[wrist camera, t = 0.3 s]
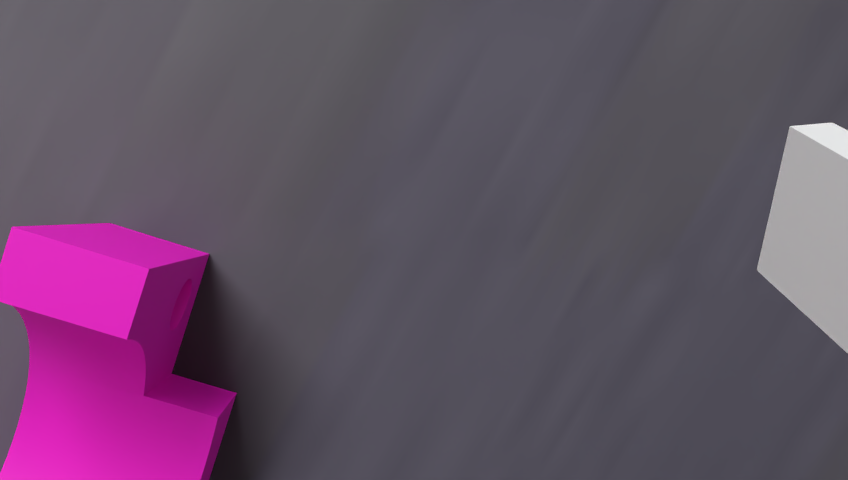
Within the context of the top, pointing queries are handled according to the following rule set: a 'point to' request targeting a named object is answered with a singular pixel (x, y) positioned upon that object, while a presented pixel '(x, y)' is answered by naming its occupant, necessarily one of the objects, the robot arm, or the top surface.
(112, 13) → the top surface
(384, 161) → the top surface
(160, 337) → the toy block
